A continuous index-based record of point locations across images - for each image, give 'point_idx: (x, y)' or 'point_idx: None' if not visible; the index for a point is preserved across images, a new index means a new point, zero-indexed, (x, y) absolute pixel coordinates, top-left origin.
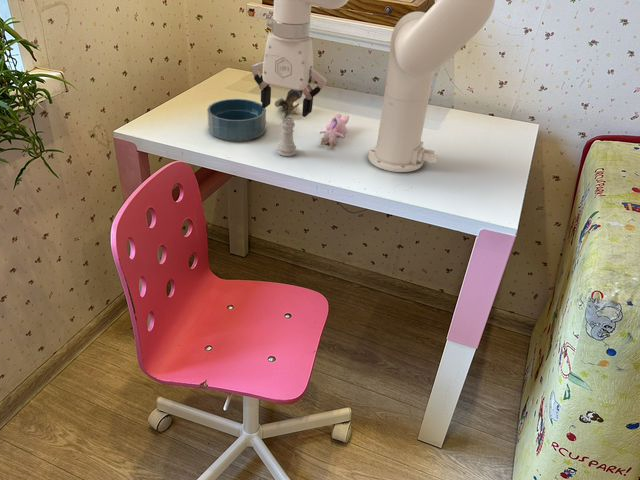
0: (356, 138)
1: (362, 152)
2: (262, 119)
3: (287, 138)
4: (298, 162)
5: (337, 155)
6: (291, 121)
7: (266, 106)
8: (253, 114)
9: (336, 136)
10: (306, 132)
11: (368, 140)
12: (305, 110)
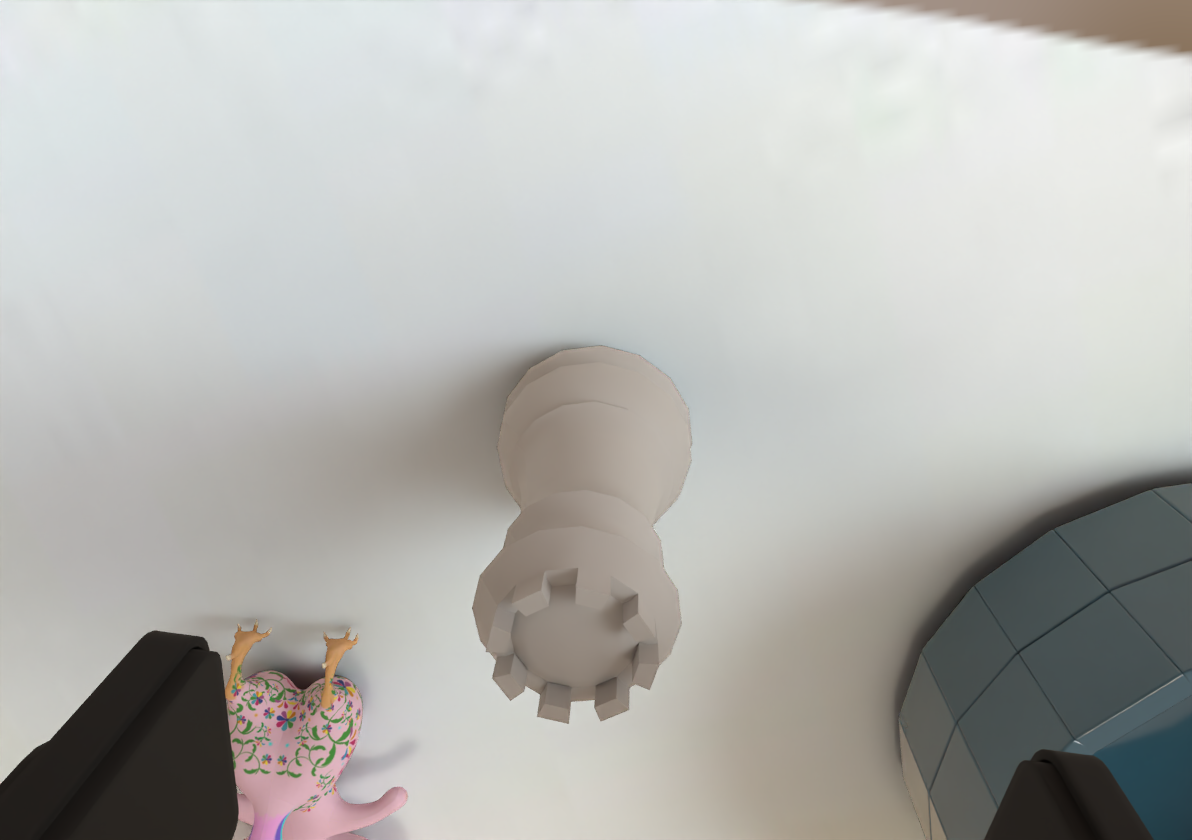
0: None
1: (7, 637)
2: (969, 797)
3: (564, 463)
4: (420, 276)
5: (157, 529)
6: (506, 635)
7: (1006, 808)
8: None
9: None
10: (556, 816)
11: None
12: (70, 735)
